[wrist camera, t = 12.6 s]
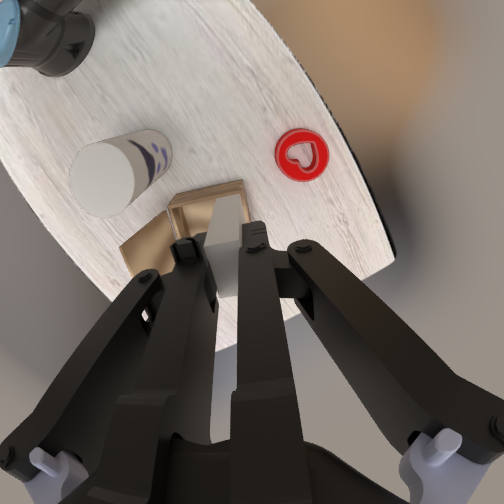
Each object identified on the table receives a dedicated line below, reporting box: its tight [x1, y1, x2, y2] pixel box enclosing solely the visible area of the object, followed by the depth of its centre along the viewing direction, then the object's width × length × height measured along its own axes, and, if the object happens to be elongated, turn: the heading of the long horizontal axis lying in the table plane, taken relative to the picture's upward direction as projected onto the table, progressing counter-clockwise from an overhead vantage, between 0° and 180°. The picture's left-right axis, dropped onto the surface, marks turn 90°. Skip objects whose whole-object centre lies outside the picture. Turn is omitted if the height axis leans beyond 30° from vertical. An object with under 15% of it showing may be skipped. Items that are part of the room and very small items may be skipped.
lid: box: [119, 211, 176, 278], centre depth 43 cm, size 15×12×1 cm
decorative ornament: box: [275, 129, 329, 182], centre depth 47 cm, size 10×10×3 cm
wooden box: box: [167, 180, 251, 240], centre depth 52 cm, size 16×13×7 cm
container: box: [69, 129, 172, 218], centre depth 39 cm, size 10×10×20 cm
